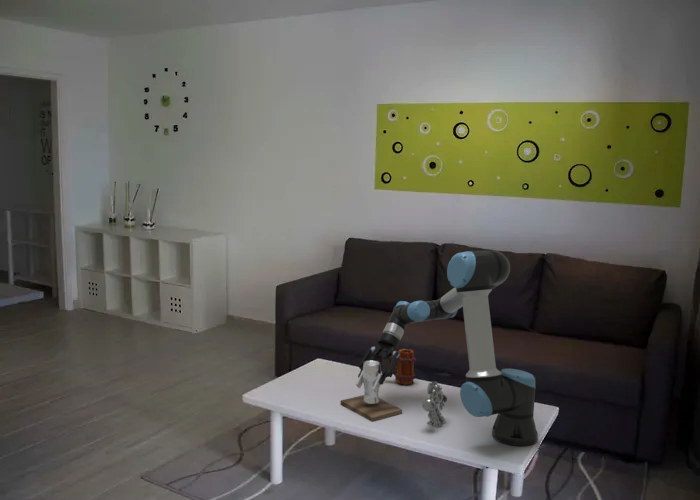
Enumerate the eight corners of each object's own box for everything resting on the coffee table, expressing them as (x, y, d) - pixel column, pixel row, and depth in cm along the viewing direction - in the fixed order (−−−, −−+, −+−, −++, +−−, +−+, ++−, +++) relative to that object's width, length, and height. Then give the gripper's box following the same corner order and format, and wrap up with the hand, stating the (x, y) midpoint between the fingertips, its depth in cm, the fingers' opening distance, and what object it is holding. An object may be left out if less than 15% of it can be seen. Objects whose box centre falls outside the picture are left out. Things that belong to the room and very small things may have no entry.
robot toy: (433, 433, 221) (434, 391, 219) (417, 429, 224) (418, 388, 222) (450, 419, 233) (451, 380, 231) (434, 416, 236) (436, 376, 234)
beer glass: (359, 399, 244) (360, 361, 242) (376, 397, 246) (377, 359, 244) (366, 405, 237) (367, 366, 235) (383, 403, 240) (384, 364, 238)
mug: (415, 380, 275) (417, 346, 273) (416, 386, 267) (417, 351, 265) (381, 378, 277) (382, 344, 275) (380, 385, 269) (381, 350, 267)
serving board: (402, 413, 238) (402, 409, 238) (372, 421, 230) (372, 417, 230) (369, 397, 254) (369, 393, 254) (340, 404, 246) (340, 400, 246)
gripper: (416, 347, 246) (392, 399, 235) (373, 338, 257) (348, 387, 246) (409, 336, 241) (384, 389, 230) (366, 327, 252) (340, 378, 241)
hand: (366, 388), depth 238 cm, fingers closed on beer glass, 7 cm apart
